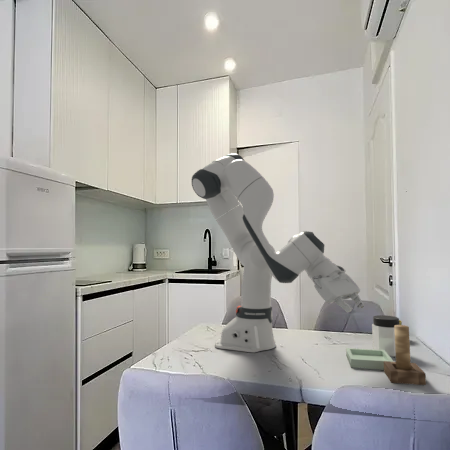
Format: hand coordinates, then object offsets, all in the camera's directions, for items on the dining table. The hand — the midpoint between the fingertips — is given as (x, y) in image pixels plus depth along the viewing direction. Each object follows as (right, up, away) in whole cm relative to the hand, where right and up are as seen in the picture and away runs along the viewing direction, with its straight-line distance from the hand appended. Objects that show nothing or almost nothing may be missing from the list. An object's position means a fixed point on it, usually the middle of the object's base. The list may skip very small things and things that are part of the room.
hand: (356, 309), depth 104 cm
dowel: (+9, -17, -10) cm, 21 cm away
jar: (+16, -19, +14) cm, 28 cm away
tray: (+5, -18, +4) cm, 19 cm away
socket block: (+9, -17, -10) cm, 21 cm away
